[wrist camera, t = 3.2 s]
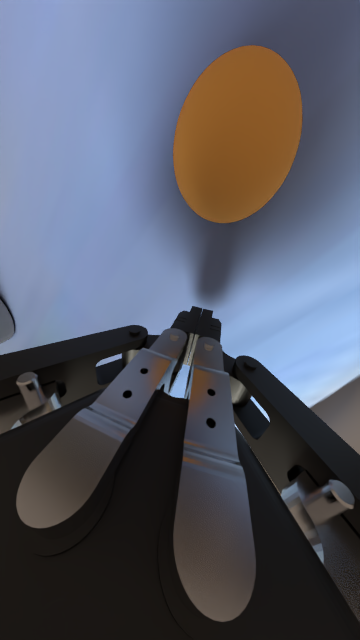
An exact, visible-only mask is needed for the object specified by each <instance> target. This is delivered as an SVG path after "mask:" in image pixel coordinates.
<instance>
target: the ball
mask: <svg viewBox="0 0 360 640" xmlns="http://www.w3.org/2000/svg"><path fill="white" fill-rule="evenodd" d="M301 130H302V100H301V93H300V89H299V86H298V82H297V80H296V78H295V75H294V73H293V71H292V70H291V68H290V67H289V65H288V64H287V62H286V61H285V60H284V59H283V58H282V57H281V56H280V55H279V54H277V53H276V52H274V51H272V50H271V49H268V48H265V47H262V46H255V45H250V46H242V47H239V48H235V49H232V50H230V51H228V52H227V53H225V54H223V55H221V56H220V57H219V58H217V59H216V60H215V61H213V62H212V63H211V64H210V65H209V66H208V67H207V68H206V69H205V70H204V72H203V73H202V74H201V75H200V76H199V78H198V79H197V81H196V82H195V84H194V85H193V87H192V88H191V90H190V92H189V94H188V96H187V98H186V100H185V102H184V104H183V107H182V109H181V112H180V115H179V118H178V122H177V126H176V130H175V137H174V146H173V162H174V171H175V176H176V180H177V184H178V187H179V189H180V192H181V194H182V196H183V198H184V200H185V201H186V202H187V204H188V205H189V207H190V208H191V209H192V210H193V211H194V212H195V213H196V214H198V215H199V216H201V217H202V218H204V219H206V220H209V221H212V222H216V223H231V222H236V221H239V220H242V219H244V218H246V217H248V216H250V215H252V214H254V213H255V212H257V211H258V210H259V209H260V208H262V207H263V206H264V205H265V204H266V203H267V202H268V201H269V200H270V199H271V198H272V197H273V196H274V194H275V193H276V192H277V190H278V189H279V188H280V186H281V185H282V183H283V182H284V180H285V178H286V176H287V175H288V173H289V171H290V169H291V166H292V164H293V161H294V159H295V156H296V152H297V149H298V146H299V142H300V137H301Z"/></svg>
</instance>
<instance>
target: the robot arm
mask: <svg viewBox="0 0 360 640" xmlns="http://www.w3.org/2000/svg"><path fill="white" fill-rule="evenodd" d="M201 312H202V314H201ZM212 314H213V311H211V310H207V309H203V311H202V308H198V307H194V306H192V308H191V311H190V312H188V311H182V312H180V313H179V314H178V316H177V318H176V320H175V321H174V323H173V325H172V326H171V328H169V329H166V330H164V331H163V332H162V334H161V335H148V331H147V329H146V328H144V327H142V326H139V325H130V326H126V327H121V328H117V329H113V330H108V331H104V332H99V333H95V334H91V335H86V336H82V337H78V338H73V339H69V340H65V341H60V342H56V343H52V344H47V345H43V346H38V347H34V348H30V349H25V350H21V351H17V352H12V353H8V354H4V355H0V640H360V455H359V454H358V453H357V452H356V451H355V450H354V449H353V448H351V447H350V446H349V445H348V444H347V443H346V442H345V441H344V440H343V439H342V438H341V437H340V436H339V435H337V434H336V433H335V432H334V431H333V430H332V429H331V428H330V427H329V426H328V425H327V424H326V423H325V422H323V421H322V420H321V419H320V418H319V417H318V416H317V415H316V414H315V413H314V412H312V410H310V409H309V408H308V407H307V406H306V405H305V404H304V403H303V402H302V401H301V400H300V399H299V398H298V397H296V396H295V395H294V394H293V393H292V392H291V391H290V390H289V389H288V388H287V387H286V386H285V385H284V384H282V383H281V382H280V381H279V380H278V379H277V378H276V377H275V376H274V375H273V374H272V373H271V372H270V371H268V370H267V369H266V368H265V367H264V366H263V365H262V364H261V363H260V362H259V361H257V360H256V359H254V358H252V357H249V356H238V357H237V358H236V359H234V358H232V357H230V356H228V355H227V354H226V353H224V352H223V351H222V346H221V344H220V337H221V322H220V321H219V319H215V318H212ZM200 316H201V317H200ZM13 334H14V324H13V320H12V318H11V316H10V313H9V312H8V310H7V308H6V306H5V305H4V304H3V302H2V301H1V300H0V344H1V343H3V342H5V341H7V340H9V339H10V338H11V337H12V336H13ZM190 352H191V353H190ZM121 353H122V358H121V359H118V360H115V361H112V362H109V363H107V364H104V365H101V366H98V367H95V366H96V364H97V363H98V362H99V361H100V360H102V359H105V358H108V357H111V356H114V355H118V354H121ZM189 355H190V357H189ZM188 358H189V361H188ZM187 362H188V366H190V370H189V374H188V378H187V383H186V389H185V395H184V398H175V397H172V396H170V393H171V391H172V389H173V386H174V384H175V382H176V380H177V378H178V375H179V373H180V370H181V368H182V365H183V364H185V365H187ZM251 396H253V397H254V398H255V400H256V401H257V402H258V403H259V404H260V406H261V407H262V408H263V409H264V410H265V411H266V413H267V414H268V416H269V419H270V422H269V421H268V420H267V418H266V417H265V416H264V415H263V414H262V412H261V411H260V410H259V409H258V408H257V406H256V405H255V404H254V403H253V401H252V400H251V399H250V398H251ZM234 423H235V424H236V426H237V427H238V429H239V430H240V432H241V433H242V434H241V433H240V432H239V430H238V429H237V428H236V427H235V424H234ZM250 447H251V448H250ZM252 450H253V451H252ZM254 453H255V454H254ZM255 455H256V456H257V457H256V456H255ZM257 458H258V459H259V460H258V459H257ZM259 461H260V462H261V464H262V465H263V467H264V468H265V470H266V471H267V473H268V474H269V476H270V477H271V479H272V481H273V482H274V483H275V485H276V487H277V488H278V490H279V491H280V493H281V494H282V496H280V494H279V492H278V491H277V489H276V488H275V486H274V484H273V483H272V481H271V480H270V478H269V477H268V475H267V473H266V472H265V470H264V469H263V467H262V465H261V464H260V462H259Z"/></svg>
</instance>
